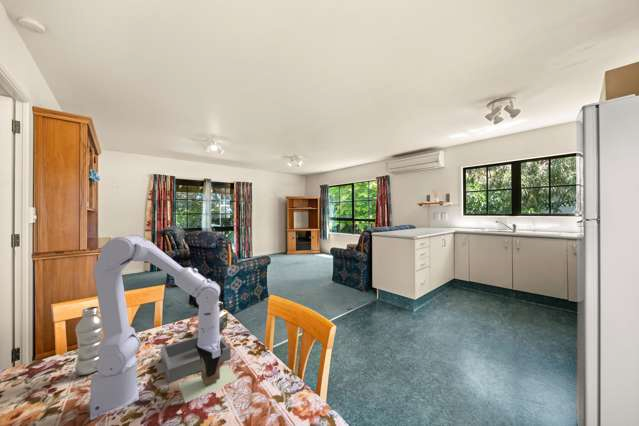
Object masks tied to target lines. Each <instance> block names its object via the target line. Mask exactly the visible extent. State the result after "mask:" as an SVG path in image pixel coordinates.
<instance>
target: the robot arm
mask: <svg viewBox="0 0 639 426" xmlns="http://www.w3.org/2000/svg"><path fill="white" fill-rule="evenodd" d="M131 261H132V262H148V263H150V264H152V265H153V266H155V267H156V268H158V269H160V270H161V271H163V272H165V273H166V274H168V275H169V276H171V277H172V278H173V279H174V284H175V285H176V286H177V287H179V288H180V289H181V290H183V291H184V292H186V293H187V294H189V295H191V296H192V297H193V298H195V302H196V305H198V312H197V313H198V314H197V317H198V318H197V324H198V325H197V331H198V332H197V336H198V342H197V345H195V347H196V349H197V350H198V353H199V356H200V360H202V358H203V360H204V363H205V369H206V374H207V377H210V376H212V375H215V373H216V369H217V365H218V361H219V359H220V357H221V355H222V353H223V349H222V348H220V340H222V339H223V340H224V336H223V334H220V333H219V302H220V300H219V299H220V295H221V287H220V285H219V284H218V283H217V281H214V280H211V279H210V278H206V277H205V276H203V275H202V274H201V273H199V269H197V268H196V267H194V268H192V267H189V266H188V267H183V266H182V265H180V264H179V263H178V262H177V261H175V260H174V259H172V257H171V256H169V255H167V254H166V253H165V252H164V251H163V250H162V249H160V248H159V247H158V246H156V245H155V244H154V243H153V242H152V241H150V240H148V239H146V238H145V237H144V236H142V235H140V234H131V235H127V236H117V237H113V238H112V239H110V240H109V241H107V242H106V243H105V244H104V245H102V246H101V247H100V255H99V256H98V258H97V260H96V262H95V265H94V267H93V275H94V281H95V289H96V295H97V300H98V301H97V302H98V309H99V313H100V315H99V316H100V317H101V321H102V328H103V332H102V335H103V336H102V339H101V340H102V342H101V344H100V346H99V349H98V352H99V357H98V359H97V362H96V369H97V371H96V372H95V373H94V374H92V375H91V377H90V378H91V380H90V392H89V393H90V397H89V400H88V408H90V409H89V420H90V421H92V420H96V419H97V418H99V416H102V415H104V414H107V413H110V412H112V411H114V410H117V409H120V408H123V407H125V406H127V405H130V404H132V403H134V402H137V401H139V400H140V394H139V387H138V382H137V380H138V379H137V377H138V376H137V375H138V374H137V372H138V371H137V368H138V367H137V366H138V361H137V360H138V359H137V355H136V354H137V352H138V351H139V350H140V348H141V345H142V344H141V343H142V342H141V339H140V338H139V336H138V335H137V333H136V329H135V327H132V326H130V320H129V319H130V318H129V314H128V307H127V300H126V299H127V298H126V294H125V288H124V282H123V280H124V279H123V275H122V271H123V269H125V267H127V266H128V264H130V262H131Z"/></svg>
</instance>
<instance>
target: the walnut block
mask: <svg viewBox="0 0 639 426" xmlns="http://www.w3.org/2000/svg"><path fill="white" fill-rule="evenodd" d="M220 368H221V363H220V359H219V361H218V365H217V369H216V373H215V375H212V376H210V377H207V374H206V369H205V363H204V360H203V358H202V360H201V371H200V372H201V373H200V374H201V375H200V376H201V378H202V380H203V382H204V384H205V385H207V384H209V383H211V382H214V381H216V380H218V379H220Z"/></svg>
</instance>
